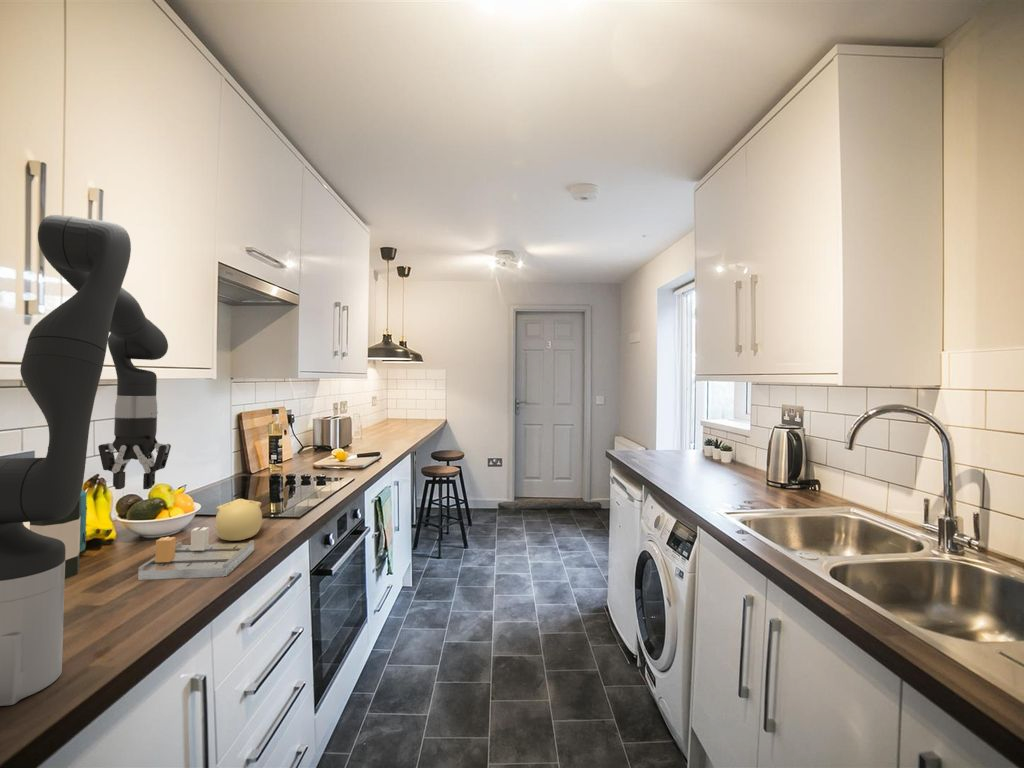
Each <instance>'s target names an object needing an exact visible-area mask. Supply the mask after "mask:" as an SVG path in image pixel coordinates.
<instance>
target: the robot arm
mask: <svg viewBox="0 0 1024 768" xmlns="http://www.w3.org/2000/svg"><path fill="white" fill-rule="evenodd" d="M37 241H38V245H39V248H40V251H41V253H42V255H43V256H44V258H45V260H46V261H47V262H48V263H49V264H50V266H51V267H52V268H53V269H54V270H55V271H56V272H57V273H59V275H60V276H61V277H62V278H64V280H65V281H67V283H68V284H69V285H70V286H71V287H72V288H74V289H75V291H77V292H76V293H74V295H72V296H71V297H70V298H68V299H67V300H66V301H64V302H63V303H61V304H60V305H59V306H57V307H56V308H55V309H53V310H52V311H50V312H49V313H48V314H47V315H45V316H44V317H42V319H40V320H39V321H38V322H37V323H36V324H35V325H34V327H33V328H32V329H31V330H30V332H29V335H28V338H27V341H26V345H25V349H24V353H23V356H22V359H21V363H20V370H19V371H20V372H19V373H20V376H21V379H22V381H23V384H24V385H25V386H26V389H27V391H28V392H29V395H31V397H32V398H33V400H34V402H35V403H36V405H37V406H38V408H39V409H40V410H41V413H42V414H43V417H44V418H45V422H46V424H47V429H48V437H49V438H48V446H49V447H48V446H47V453H46V455H45V456H46V457H17V458H16V457H12V458H11V457H9V458H0V707H3V706H5V707H6V706H13V705H15V704H17V703H18V702H19V701H21V700H22V699H24V698H27V697H29V696H31V695H34V694H36V693H38V692H40V691H42V690H44V689H45V688H47V687H48V686H50V685H52V684H53V683H54V682H55V681H57V680H58V678H60V676H61V675H62V671H63V670H62V669H63V648H64V647H63V644H64V643H63V640H64V639H63V638H64V609H65V608H64V607H65V605H64V604H65V580H66V579H65V553H66V550H65V544H64V543H63V542H62V541H61V540H58V539H55V538H52V537H47V536H43V535H40V534H37V533H35V532H33V531H31V530H30V528H28V527H26V526H25V525H24V523H30V522H35V521H36V522H37V521H51V520H59V519H63V518H65V517H67V516H68V515H69V514H70V513H71V512H72V511H73V510H74V508H75V507H76V505H77V503H78V500H79V498H80V495H81V491H82V490H83V484H84V480H85V479H84V478H85V470H86V464H87V452H88V442H89V434H90V427H91V420H92V414H93V410H94V406H95V399H96V396H97V391H98V388H99V383H100V380H101V376H102V373H103V368H104V365H105V364H104V362H105V359H106V353H107V347H108V350H109V353H110V356H111V358H112V362H113V365H114V368H115V369H114V370H115V373H116V378H117V382H116V383H117V384H116V386H117V387H116V400H115V403H114V426H113V427H114V429H113V430H114V431H113V432H114V433H113V435H114V437H115V438H114V440H113V441H112V442H111V443H110V442H109V443H107V442H106V443H103V444H99V445H97V446H98V447H97V449H98V452H99V456H100V462H101V465H102V470H103V471H109V472H111V473H112V486H113V487H114V490H123V489H125V487H126V471H125V470H126V468H127V466H128V464H129V462H131V460H138V462H139V464H140V465H141V466H142V468H143V471H144V473H143V482H142V483H143V484H142V485H143V486H142V488H143V490H150V489H152V488H153V486H155V484H156V472H157V471H159V470H163V469H165V468H166V464H167V462H168V458H169V455H170V452H171V451H170V450H171V448H172V447H171V444H170V443H166V444H164V443H160V442H158V441H157V439H156V436H157V430H158V429H157V428H158V427H157V426H158V425H157V424H158V423H157V422H158V413H159V412H158V401H157V387H158V386H157V384H158V381H157V373H155V371H152V370H148V369H142V368H138V367H136V366H135V365H134V364H133V362H132V360H144V361H145V360H146V361H155V360H160V359H162V358H163V357H165V355H166V354H167V352H168V349H169V343H168V339H167V337H166V335H165V334H164V332H163V331H162V330H161V329H160V328H159V327H158V326H157V325H156V324H154V323H153V322H152V321H151V320H149V319H148V318H147V317H146V316H145V313H144V312H143V309H142V307H141V305H140V303H139V302H138V301H137V299H136V298H135V297H134V296H133V295H132V294H131V293H130V292H128V291H127V290H125V288H123V287H122V286H123V284H124V280H125V276H126V274H127V272H128V268H129V264H130V259H131V252H132V246H131V245H132V244H131V238H130V235H129V233H128V231H127V229H125V228H124V227H123V226H122V225H120V224H118V223H114V222H111V221H106V220H100V219H93V218H92V219H91V218H84V217H77V216H71V215H64V214H63V215H62V214H61V215H60V214H51V215H47V216H46V217H44V218H43V219H42V220H41V222H40V223H39V226H38V229H37ZM154 450H155V452H156V453H157V454H156V457H154V454H153V451H154ZM115 451H116V452H117V455H116V457H115V453H114V452H115Z"/></svg>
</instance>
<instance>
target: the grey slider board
mask: <svg viewBox="0 0 1024 768" xmlns="http://www.w3.org/2000/svg"><path fill="white" fill-rule="evenodd" d="M254 550H255V540H254V539H252V540H249V541H248V542H247V543H244V542H243V543H212V544H210V543H208V548H206V549H205V550H194V551H191V544H183V541H178V542H176V547H175V559H173V560H172V561H170V562H155V557H156V556H154V557H152V558H151V559H150V560H148V561H146V562H144V563H142V565H140V566H138V573H137V574H138V575H137V578H138V579H137V580H138V581H140V580H141V581H142V580H145V581H146V580H147V581H148V580H171V579H173V580H174V579H197V578H198V579H199V578H224V576H226V577H227V575H228V576H229V575H230V574H231V573H232V572H233V571H234V570H235V569H237V567H238V566H239V565H240V564H242V562H243V561H244V560H247V558H248V557H249V556H250V555H251V554H252V553H254Z"/></svg>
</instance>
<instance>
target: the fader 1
mask: <svg viewBox="0 0 1024 768" xmlns="http://www.w3.org/2000/svg"><path fill="white" fill-rule="evenodd" d="M176 537H177V536H176ZM176 537H175V536H171V537H170V536H165V537H160V538H159V539H156V540H155V556H154V557H155V562H170V561H172V560H173V559H175V547H176V543H177V542H176V541H177V540H176Z"/></svg>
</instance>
